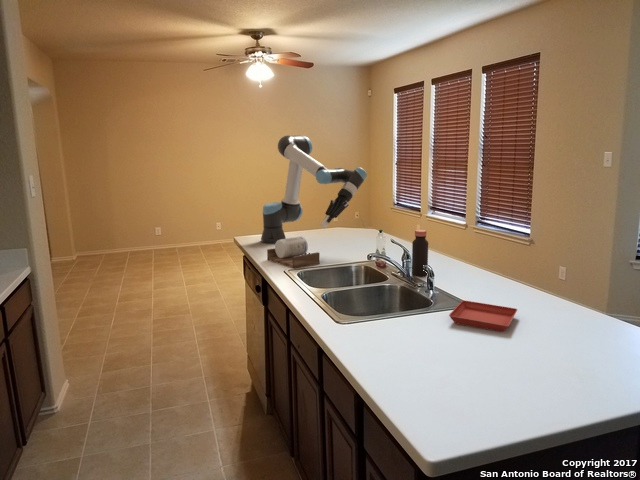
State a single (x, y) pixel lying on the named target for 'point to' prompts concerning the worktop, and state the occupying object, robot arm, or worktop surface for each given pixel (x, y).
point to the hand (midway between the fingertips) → (322, 226)
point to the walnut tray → (294, 259)
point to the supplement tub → (291, 247)
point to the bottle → (419, 253)
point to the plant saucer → (483, 315)
